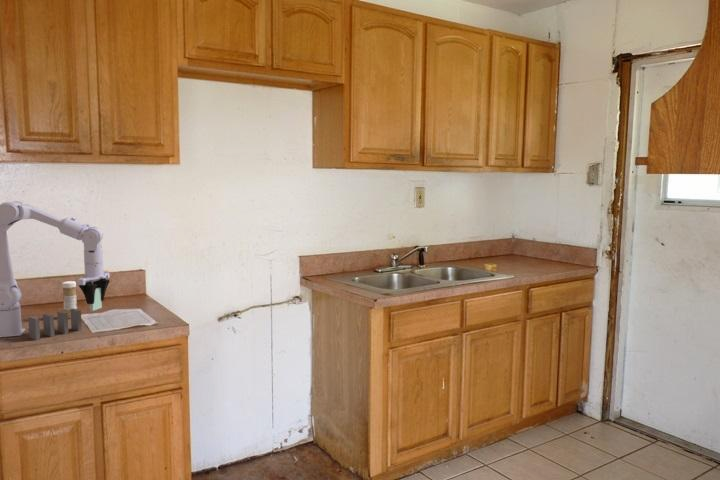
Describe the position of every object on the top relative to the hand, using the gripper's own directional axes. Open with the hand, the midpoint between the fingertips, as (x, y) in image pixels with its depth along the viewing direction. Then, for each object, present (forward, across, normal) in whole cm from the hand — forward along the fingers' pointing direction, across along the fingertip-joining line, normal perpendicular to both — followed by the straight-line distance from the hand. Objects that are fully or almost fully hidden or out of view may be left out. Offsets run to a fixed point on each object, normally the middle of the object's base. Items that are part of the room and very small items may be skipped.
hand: (95, 302), depth 192 cm
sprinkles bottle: (+10, +13, +20) cm, 26 cm away
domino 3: (+9, -6, +8) cm, 14 cm away
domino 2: (+9, -10, +10) cm, 17 cm away
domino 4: (+9, -2, +6) cm, 11 cm away
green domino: (+2, 0, 0) cm, 2 cm away
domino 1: (+9, -14, +12) cm, 21 cm away
